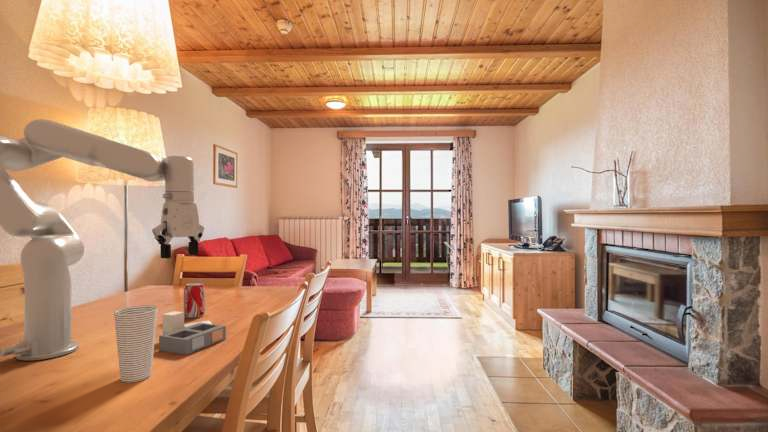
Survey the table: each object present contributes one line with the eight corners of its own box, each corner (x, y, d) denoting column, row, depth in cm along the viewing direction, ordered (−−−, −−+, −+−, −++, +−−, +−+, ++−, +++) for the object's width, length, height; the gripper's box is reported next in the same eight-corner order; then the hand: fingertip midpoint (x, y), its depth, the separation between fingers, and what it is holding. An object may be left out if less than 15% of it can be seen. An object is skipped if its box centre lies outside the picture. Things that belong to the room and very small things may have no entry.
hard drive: (183, 324, 128) (190, 333, 118) (209, 320, 133) (218, 328, 123) (183, 329, 128) (190, 338, 118) (209, 325, 133) (218, 333, 123)
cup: (109, 388, 83) (109, 315, 83) (118, 373, 91) (118, 307, 91) (154, 381, 86) (155, 312, 86) (160, 367, 94) (160, 304, 94)
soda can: (199, 319, 139) (199, 285, 139) (179, 318, 139) (179, 285, 139) (208, 314, 146) (208, 282, 146) (189, 314, 146) (190, 282, 146)
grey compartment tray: (187, 355, 103) (187, 340, 103) (158, 350, 106) (159, 335, 106) (226, 339, 116) (226, 325, 116) (200, 335, 119) (200, 322, 119)
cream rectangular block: (172, 342, 113) (172, 315, 113) (162, 341, 114) (162, 314, 114) (184, 338, 116) (184, 312, 116) (174, 337, 118) (174, 311, 118)
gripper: (163, 196, 105) (163, 260, 105) (212, 199, 121) (212, 254, 121) (143, 197, 107) (143, 259, 107) (193, 199, 123) (193, 253, 123)
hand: (180, 256), depth 114 cm, fingers open, 9 cm apart
